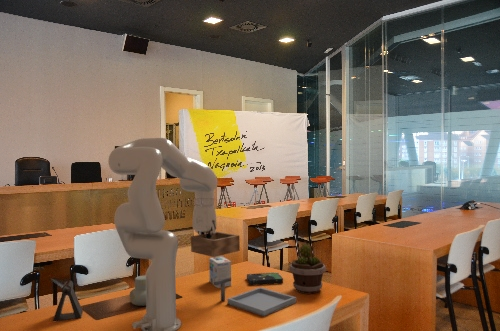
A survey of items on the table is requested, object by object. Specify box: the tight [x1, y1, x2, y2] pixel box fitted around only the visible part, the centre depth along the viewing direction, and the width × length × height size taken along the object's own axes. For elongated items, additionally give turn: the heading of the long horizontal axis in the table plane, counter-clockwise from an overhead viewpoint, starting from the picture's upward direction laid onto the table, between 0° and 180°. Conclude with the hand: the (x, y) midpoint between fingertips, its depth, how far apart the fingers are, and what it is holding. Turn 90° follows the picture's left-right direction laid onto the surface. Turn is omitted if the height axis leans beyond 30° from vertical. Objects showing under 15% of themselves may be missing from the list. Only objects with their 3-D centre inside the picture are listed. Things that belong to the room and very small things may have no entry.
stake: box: [213, 277, 232, 303], centre depth 156 cm, size 8×2×8 cm, turn 136°
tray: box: [226, 287, 297, 317], centre depth 153 cm, size 18×18×2 cm
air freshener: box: [129, 274, 146, 307], centre depth 155 cm, size 11×8×10 cm
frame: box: [190, 231, 241, 258], centre depth 159 cm, size 13×13×6 cm
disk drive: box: [246, 272, 284, 286], centre depth 181 cm, size 10×3×15 cm
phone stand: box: [52, 280, 84, 322], centre depth 142 cm, size 9×6×12 cm, turn 106°
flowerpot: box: [289, 240, 327, 295], centre depth 168 cm, size 14×15×20 cm
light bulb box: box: [208, 255, 232, 289], centre depth 178 cm, size 11×7×11 cm, turn 25°
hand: (205, 248), depth 163 cm, fingers closed on frame, 1 cm apart
